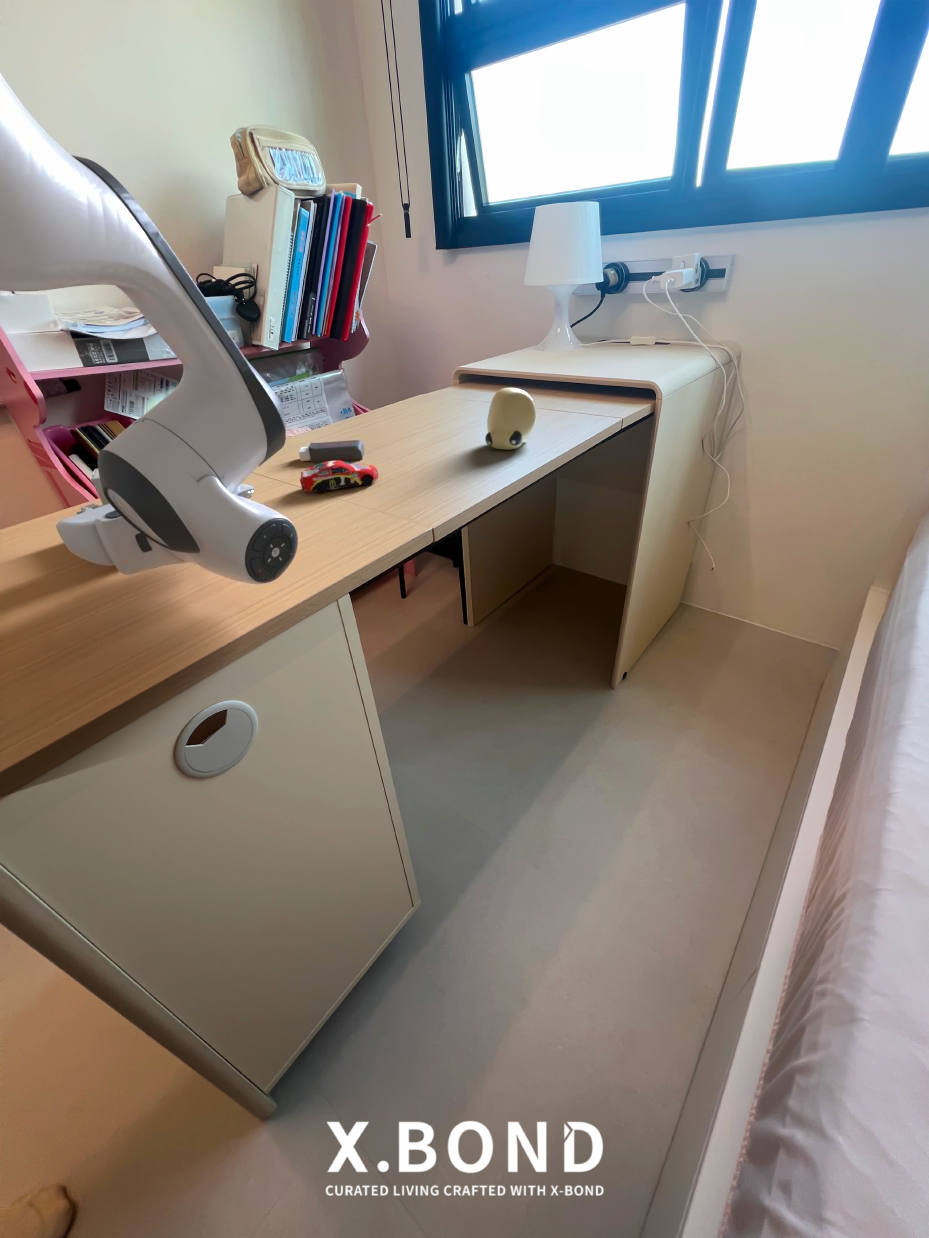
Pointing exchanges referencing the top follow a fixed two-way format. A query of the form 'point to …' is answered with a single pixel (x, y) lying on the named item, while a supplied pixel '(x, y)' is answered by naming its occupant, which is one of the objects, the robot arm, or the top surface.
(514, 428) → the yellow toy head
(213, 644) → the top surface
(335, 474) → the race car
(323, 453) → the usb drive
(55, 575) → the top surface
